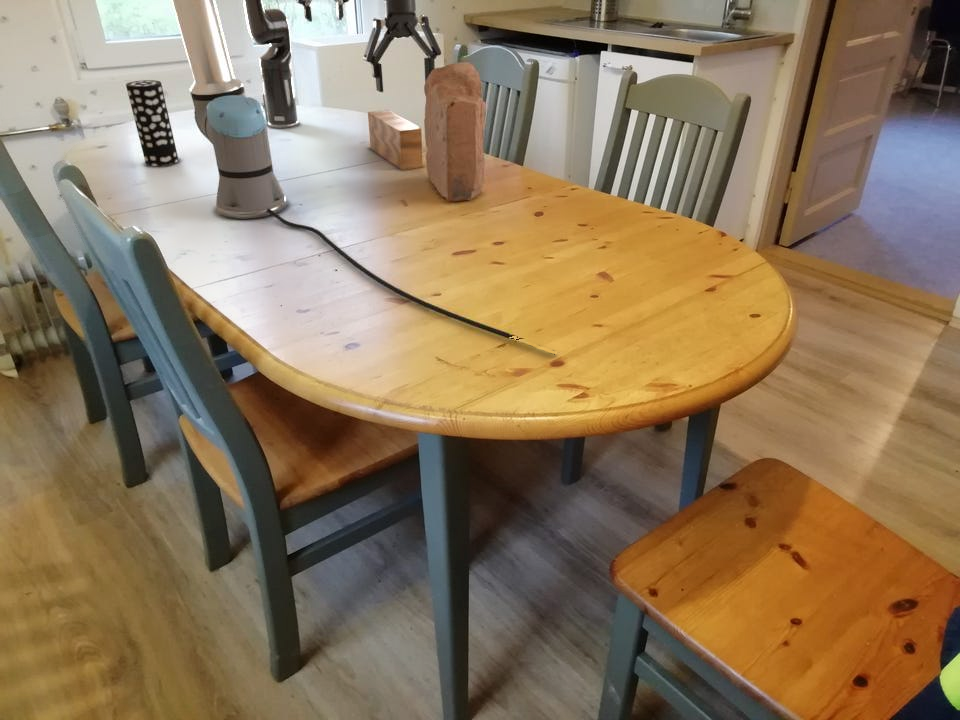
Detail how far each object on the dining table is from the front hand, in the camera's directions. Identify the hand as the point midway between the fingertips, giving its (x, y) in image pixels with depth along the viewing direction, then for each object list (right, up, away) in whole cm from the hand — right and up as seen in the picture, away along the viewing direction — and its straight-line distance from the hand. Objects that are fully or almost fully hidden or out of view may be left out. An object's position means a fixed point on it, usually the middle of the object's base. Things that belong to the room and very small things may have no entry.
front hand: (404, 88), depth 176 cm
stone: (+13, -27, -5) cm, 30 cm away
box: (-4, -13, +16) cm, 21 cm away
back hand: (-24, +25, +15) cm, 38 cm away
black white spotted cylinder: (-67, -7, +5) cm, 67 cm away
